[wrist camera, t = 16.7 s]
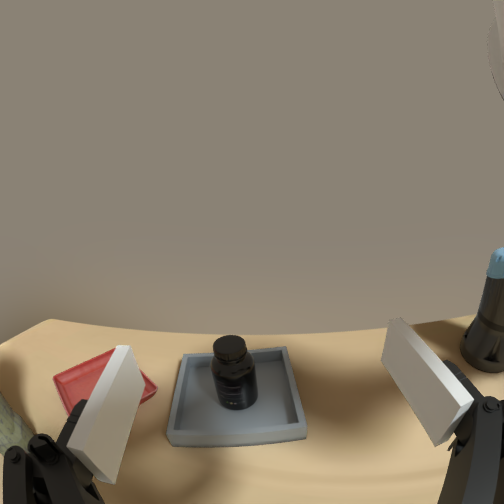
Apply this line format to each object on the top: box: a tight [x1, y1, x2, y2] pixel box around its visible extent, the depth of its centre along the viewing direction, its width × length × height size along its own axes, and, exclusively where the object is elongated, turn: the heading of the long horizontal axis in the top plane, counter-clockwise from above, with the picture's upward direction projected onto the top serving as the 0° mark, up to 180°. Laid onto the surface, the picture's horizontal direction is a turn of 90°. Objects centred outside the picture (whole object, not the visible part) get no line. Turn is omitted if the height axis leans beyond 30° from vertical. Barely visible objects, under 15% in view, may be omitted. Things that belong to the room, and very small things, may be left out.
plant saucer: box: [53, 348, 158, 417], centre depth 43 cm, size 18×18×3 cm
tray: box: [166, 346, 307, 447], centre depth 42 cm, size 20×20×4 cm
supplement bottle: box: [210, 335, 258, 411], centre depth 41 cm, size 7×7×12 cm
